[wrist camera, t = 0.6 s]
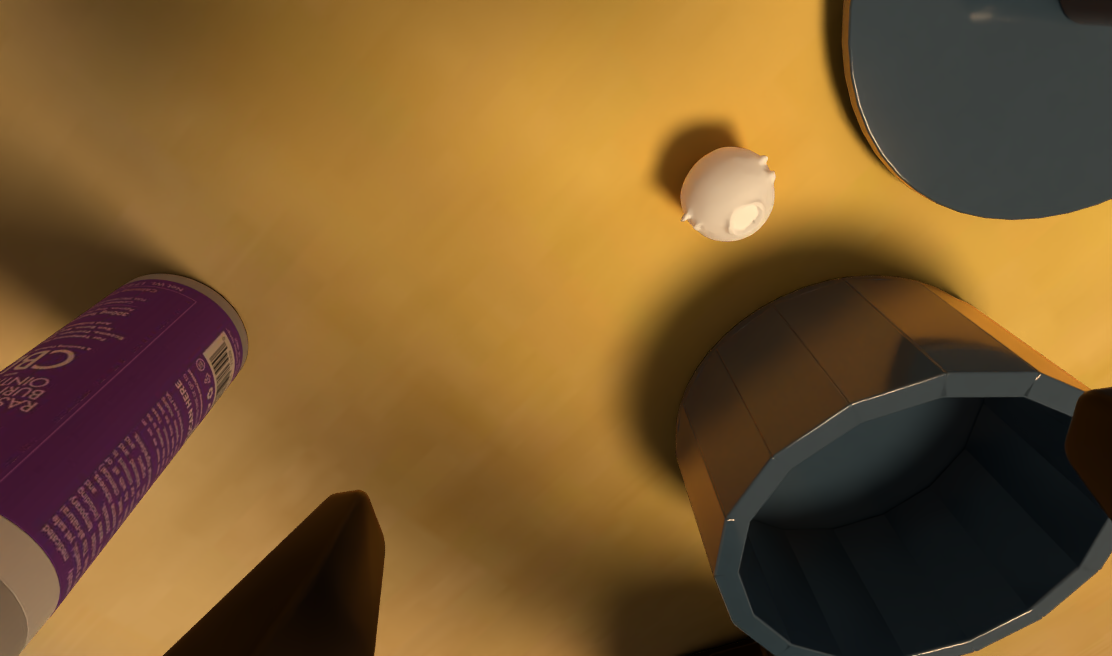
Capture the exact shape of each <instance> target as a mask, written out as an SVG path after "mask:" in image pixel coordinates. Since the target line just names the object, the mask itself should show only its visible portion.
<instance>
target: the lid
mask: <svg viewBox="0 0 1112 656" xmlns="http://www.w3.org/2000/svg"><path fill="white" fill-rule="evenodd" d="M842 52H843V63H844V75H845V79H846V83H847V88H848V92H849V97H850V101H851V105H852V107H853V110H854V113H855V115H856V118H857V120H858V123H859V125H860V128H861V130H862V132H863V134H864V136H865V137H866V139H867V141H868V142H869V144H870V146H871V148H872V149H873V151H874V153H875V154H876V155H877V156H878V157H879V159H880V160H881V161H882V162H883V163H884V165H885V166H886V167H887V168H888V169H889V171H890V172H891V173H892V174H894V175H895V176H896V177H897V178H898V179H899V180H901V181H902V182H903V183H904V184H905V185H907V186H908V187H909V188H910V189H912V190H914V191H915V192H917V193H919V194H921V195H922V196H924V197H926V198H927V199H929V200H931V201H933V202H935V203H937V204H939V205H942V206H944V207H947V208H949V209H952V210H955V211H957V212H960V213H964V214H969V215H973V216H978V217H982V218H992V219H1005V220H1018V219H1036V218H1044V217H1049V216H1055V215H1061V214H1066V213H1070V212H1074V211H1077V210H1081V209H1084V208H1088V207H1091V206H1094V205H1098V204H1100V203H1103V202H1105V201H1108V200H1110V199H1112V0H844V4H843V20H842Z"/></svg>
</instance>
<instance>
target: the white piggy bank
mask: <svg viewBox="0 0 1112 656" xmlns="http://www.w3.org/2000/svg"><path fill="white" fill-rule="evenodd" d="M767 160H768V157H767V156H760V155H758V154H756V153H754V152H752V151H750V150H747V149H744V148H738V147H722V148H719V149H716V150H714V151H712V152H710V153H709V154H707V155H705V156H704V157H702V158H701V159H700V160H699V161H698V162H697V163H696V164H695V165H694V166H693V167H692V169H691V170H690V171H689V173H688V175H687V176H686V178H685V180H684V183H683V186H682V189H681V194H680V200H681V207H682V210H683V213H684V215H683V217H682V219H681V221H685V220H688V222H689V223H690V224H691V225H692V226H693V228H694V229H695V230H697V231H698V232H700V233H701V234H702V235H704V236H705V237H707V238H710V239H712V240H717V241H727V242H729V241H737V240H740V239H743V238H746V237H748V236H750V235H752V234H753V233H755V232H756V231H757V230H759V229H760V228H761V227H762V225H763V224H764V223H765V222H766V220H767V219H768V217H769V215H770V213H771V211H772V208H773V205H774V181H775V178H776V176H775V172H774V171H770V170H769V168H768V166H767V164H766V162H767Z"/></svg>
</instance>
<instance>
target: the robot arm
mask: <svg viewBox="0 0 1112 656" xmlns="http://www.w3.org/2000/svg"><path fill="white" fill-rule="evenodd" d="M1065 453H1066V456H1067V458H1068V461H1069V463H1070V464H1071V466H1072V467H1073V468H1074V470H1075V471H1076V473H1077V474H1078V475H1079V477H1080V478H1081V480H1082V481H1083V482H1084V484H1085V485H1086V487H1087V488H1088V489H1089V491H1090V492H1091V493H1092V495H1093V496H1094V498H1095V499H1096V500H1097V502H1098V503H1099V505H1100V506H1101V507H1102V509H1103V510H1104V512H1105V513H1106V514H1107V516H1108V517H1109V519H1110V520H1111V521H1112V387H1108V388H1101V389H1093V390H1089V391H1086V392H1084V393H1083V394H1082V395H1081V396H1080V397H1079V398H1078V401H1077V403H1076V406H1075V410H1074V413H1073V416H1072V420H1071V423H1070V426H1069V429H1068V433H1067V436H1066V439H1065ZM384 558H385V541H384V536H383V533H382V530H381V528H380V525H379V522H378V520H377V517H376V515H375V512H374V509H373V507H372V504H371V502H370V499H369V497H368V495H367V494H366V493H365V492H364V491H361V490H355V491H347V492H340V493H335V494H332V495H330V496H329V497H328V498H327V499H326V500H325V501H324V502H322V503H321V504H320V505H319V506H318V507H317V508H316V509H315V510H314V511H313V512H312V513H311V514H310V515H309V516H308V517H307V518H306V519H305V520H304V521H303V522H302V523H301V524H300V525H299V526H297V527H296V528H295V529H294V530H293V531H292V532H291V533H290V534H289V535H288V536H287V537H286V538H285V539H284V540H283V541H282V542H281V543H280V544H279V545H278V546H277V547H276V548H275V549H274V550H272V551H271V552H270V553H269V554H268V555H267V556H266V557H265V558H264V559H263V560H262V561H261V562H260V563H259V564H258V565H257V566H256V567H255V568H254V569H253V570H252V571H251V572H250V573H248V574H247V575H246V576H245V577H244V578H243V579H242V580H241V581H240V582H239V583H238V584H237V585H236V586H235V587H234V588H233V589H232V590H231V591H230V592H229V593H228V594H227V595H226V596H225V597H223V598H222V599H221V600H220V601H219V602H218V603H217V604H216V605H215V606H214V607H213V608H212V609H211V610H210V611H209V612H208V613H207V614H206V615H205V616H204V617H203V618H202V619H201V620H199V621H198V622H197V623H196V624H195V625H194V626H193V627H192V628H191V629H190V630H189V631H188V632H187V633H186V634H185V635H184V636H183V637H182V638H181V639H180V640H179V641H178V642H177V643H176V644H174V645H173V646H172V647H171V648H170V649H169V650H168V651H167V652H166V653H165V654H164V655H163V656H374V652H375V643H376V634H377V624H378V615H379V605H380V596H381V587H382V577H383V568H384ZM688 656H774V655H773V654H772V653H770V652H769V651H768V650H766V649H765V648H764V647H763V646H761V645H760V644H759V643H757V642H756V641H755V640H753V639H752V638H751V639H747V640H743V641H740V642H736V643H732V644H729V645H725V646H721V647H718V648H714V649H710V650H707V651H703V652H699V653H696V654H692V655H688Z"/></svg>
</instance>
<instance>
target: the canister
mask: <svg viewBox="0 0 1112 656" xmlns="http://www.w3.org/2000/svg"><path fill="white" fill-rule="evenodd" d="M1089 390H1091V389H1090V388H1088V387H1087V386H1085V385H1084V384H1083V383H1081V382H1080V381H1078V380H1077V379H1076V378H1074V377H1073V376H1071V375H1070V374H1068V373H1067V372H1066V371H1064V370H1063V369H1061V368H1060V367H1059V366H1057V365H1056V364H1054V363H1053V362H1051V361H1050V360H1049V359H1047V358H1046V357H1044V356H1043V355H1042V354H1040V353H1039V352H1037V351H1036V350H1034V349H1033V348H1032V347H1030V346H1029V345H1027V344H1026V343H1024V342H1023V341H1022V340H1020V339H1019V338H1017V337H1016V336H1015V335H1013V334H1012V333H1010V332H1009V331H1007V330H1006V329H1005V328H1003V327H1002V326H1000V325H999V324H998V323H996V322H995V321H993V320H992V319H990V318H989V317H988V316H986V315H985V314H983V313H982V312H981V311H979V310H978V309H976V308H975V307H973V306H972V305H971V304H968V303H966V302H964V301H962V300H959V299H957V298H955V297H953V296H952V295H950V294H948V293H946V292H944V291H943V290H941V289H939V288H937V287H934V286H931V285H928V284H926V283H923V282H920V281H916V280H911V279H906V278H902V277H895V276H880V275H868V276H851V277H845V278H839V279H834V280H828V281H824V282H821V283H817V284H814V285H810V286H807V287H804V288H801V289H799V290H796V291H794V292H792V293H789V294H787V295H784V296H782V297H780V298H778V299H776V300H774V301H772V302H771V303H769V304H767V305H765V306H763V307H761V308H760V309H758V310H757V311H755V312H754V313H752V314H751V315H750V316H748V317H747V318H745V319H744V320H742V321H741V322H740V323H738V324H737V325H736V326H735V327H734V328H733V329H731V330H730V331H729V332H728V333H727V334H726V335H725V336H723V337H722V339H721V340H720V341H719V342H718V343H717V344H716V345H715V346H714V347H713V348H712V349H711V350H710V352H709V353H708V354H707V355H706V357H705V358H704V360H703V361H702V362H701V364H700V365H699V366H698V368H697V369H696V371H695V373H694V375H693V376H692V378H691V380H690V382H689V384H688V386H687V388H686V390H685V393H684V396H683V398H682V401H681V404H680V407H679V412H678V417H677V421H676V437H675V440H676V452H675V453H676V458H677V461H678V465H679V468H680V471H681V474H682V477H683V481H684V484H685V487H686V490H687V493H688V497H689V500H690V503H691V506H692V509H693V512H694V516H695V519H696V522H697V525H698V528H699V532H700V535H701V538H702V541H703V544H704V548H705V551H706V554H707V557H708V560H709V563H710V567H711V570H712V573H713V576H714V579H715V581H716V584H717V586H718V589H719V591H720V594H721V597H722V599H723V602H724V604H725V607H726V609H727V612H728V614H729V617H730V619H731V622H732V623H733V624H734V625H735V626H736V627H738V628H739V629H740V630H741V631H743V632H744V633H745V634H747V635H748V636H749V637H751V638H752V639H753V640H755V641H756V642H757V643H759V644H760V645H761V646H763V647H764V648H765V649H766V650H768V651H769V652H770V653H772V654H773V655H774V656H961V655H965V654H969V653H973V652H974V651H978V650H980V649H982V648H984V647H986V646H988V645H990V644H992V643H994V642H996V641H998V640H1000V639H1002V638H1004V637H1006V636H1008V635H1010V634H1012V633H1014V632H1016V631H1018V630H1020V629H1022V628H1024V627H1026V626H1028V625H1030V624H1032V623H1034V622H1036V621H1038V620H1040V619H1042V617H1044V616H1046V615H1047V614H1048V613H1050V612H1051V611H1052V610H1053V609H1054V608H1056V607H1057V606H1058V605H1059V604H1060V603H1061V602H1063V601H1064V600H1065V599H1066V598H1067V597H1069V596H1070V595H1071V594H1072V593H1073V592H1074V591H1076V590H1077V589H1078V588H1079V587H1080V586H1082V585H1083V584H1084V583H1085V582H1086V581H1087V580H1089V579H1090V578H1091V577H1092V576H1093V575H1095V574H1096V573H1097V572H1098V570H1101V569H1102V567H1103V565H1104V564H1105V562H1106V561H1107V559H1108V557H1109V556H1110V554H1111V553H1112V521H1111V520H1110V519H1109V517H1108V516H1107V514H1106V513H1105V512H1104V510H1103V509H1102V507H1101V506H1100V505H1099V503H1098V502H1097V500H1096V499H1095V498H1094V496H1093V495H1092V493H1091V492H1090V491H1089V489H1088V488H1087V487H1086V485H1085V484H1084V482H1083V481H1082V480H1081V478H1080V477H1079V475H1078V474H1077V473H1076V471H1075V470H1074V468H1073V467H1072V466H1071V464H1070V463H1069V461H1068V458H1067V456H1066V453H1065V439H1066V436H1067V433H1068V429H1069V426H1070V423H1071V420H1072V416H1073V413H1074V410H1075V406H1076V403H1077V401H1078V398H1079V397H1080V396H1081V395H1082V394H1083V393H1084V392H1086V391H1089Z"/></svg>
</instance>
